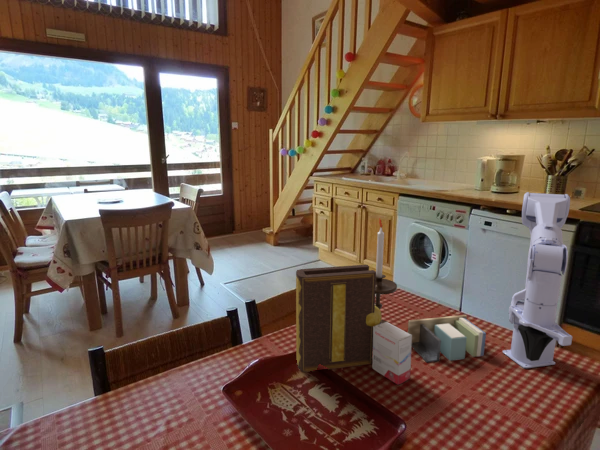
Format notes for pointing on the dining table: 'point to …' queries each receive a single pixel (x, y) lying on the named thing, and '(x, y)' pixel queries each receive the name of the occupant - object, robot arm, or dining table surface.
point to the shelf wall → (429, 324)
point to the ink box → (392, 352)
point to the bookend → (427, 345)
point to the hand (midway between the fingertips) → (532, 358)
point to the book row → (471, 336)
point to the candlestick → (381, 284)
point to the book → (335, 316)
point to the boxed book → (451, 341)
